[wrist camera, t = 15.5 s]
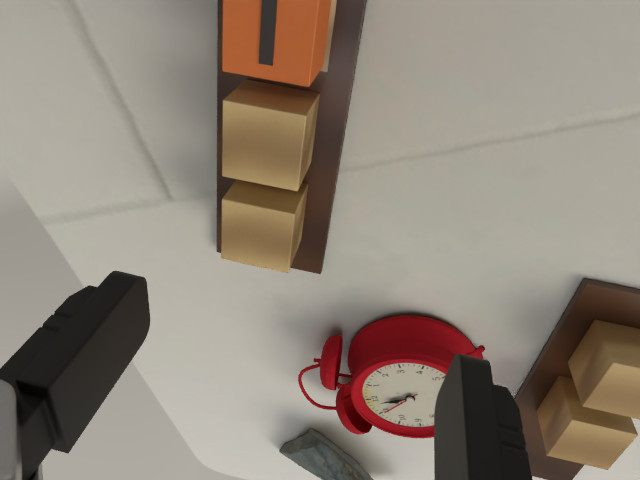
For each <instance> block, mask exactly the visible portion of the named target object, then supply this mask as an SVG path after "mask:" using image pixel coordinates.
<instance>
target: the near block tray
mask: <svg viewBox="0 0 640 480" xmlns="http://www.w3.org/2000/svg"><path fill="white" fill-rule="evenodd" d="M514 400H515V402H516V404H517V405H518V407H519V409H520V415H521V420H522V426H523V433H524V437H525V442H526V451H527V453H528V459H529V465H530V470H531V476H534V477H539V478H543V479H547V480H572V479H573V478H574V477H575V476H576V474H577V473H578V472H579V471H580V470H581V468H582V467H583V466H584V465H589V466H594V467H598V468H602V469H606V470H608V469H609V468H610V466H611V465H612V464H613V463H614V462H615V461H616V460H617V458H618V457H619V456H620V455H621V454H622V453H623V452H624V450H625V449H626V448H627V447H628V446H629V445H630V444H631V442H632V441H633V440H634V439H635V438H636V437H637V436H638V434H637V431H636V429H635V427H634V424H633V422H632V419H631V418H636V419H640V290H638V289H634V288H629V287H624V286H619V285H614V284H609V283H605V282H600V281H595V280H590V279H583V281H582V283H581V285H580V286H579V288H578V290H577V292H576V293H575V295H574V297H573V299H572V300H571V302H570V304H569V305H568V307H567V309H566V311H565V312H564V314H563V316H562V318H561V319H560V321H559V323H558V325H557V326H556V328H555V330H554V331H553V333H552V335H551V337H550V338H549V340H548V342H547V344H546V345H545V347H544V349H543V351H542V352H541V354H540V356H539V357H538V359H537V361H536V363H535V364H534V366H533V368H532V370H531V371H530V373H529V375H528V377H527V378H526V380H525V382H524V383H523V385H522V387H521V389H520V390H519V392H518V394H517V396H516V397H515V399H514Z"/></svg>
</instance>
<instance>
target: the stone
mask: <svg viewBox="0 0 640 480" xmlns="http://www.w3.org/2000/svg"><path fill="white" fill-rule="evenodd" d="M280 453H282V454H283V455H285V456H286V457H288V458H289V459H291V460H292V461H294V462H295V463H297V464H298V465H299V466H301V467H303V468H304V469H306V470H308V471H309V472H311V473H313V474H314V475H316V476H317V477H319V478H321V479H322V480H373V479H372V478H371V476H370V475H369V474H368V473H367V472H366V471H365V470H363V468H362V467H361V466H360V465H359V464H358V463H357V462H356V461H355V460H354V459H353V458H352V457H351V456H349V455H347V454H346V453H345V452H343V451H342V450H341V449H340V448H339V447H338V446H336V445H335V444H334V443H332V442H331V441H329V440H328V439H327V438H325V437H324V436H323V435H321V434H320V433H318V432H317V431H315V430H313V429H310V430H309V432H308V433H307V434H305V435H303V436H300V437H298V438H297V439H296V440H293V441H291V442H288V443H286V444H284V446H283V447H282V449H281V450H280Z"/></svg>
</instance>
